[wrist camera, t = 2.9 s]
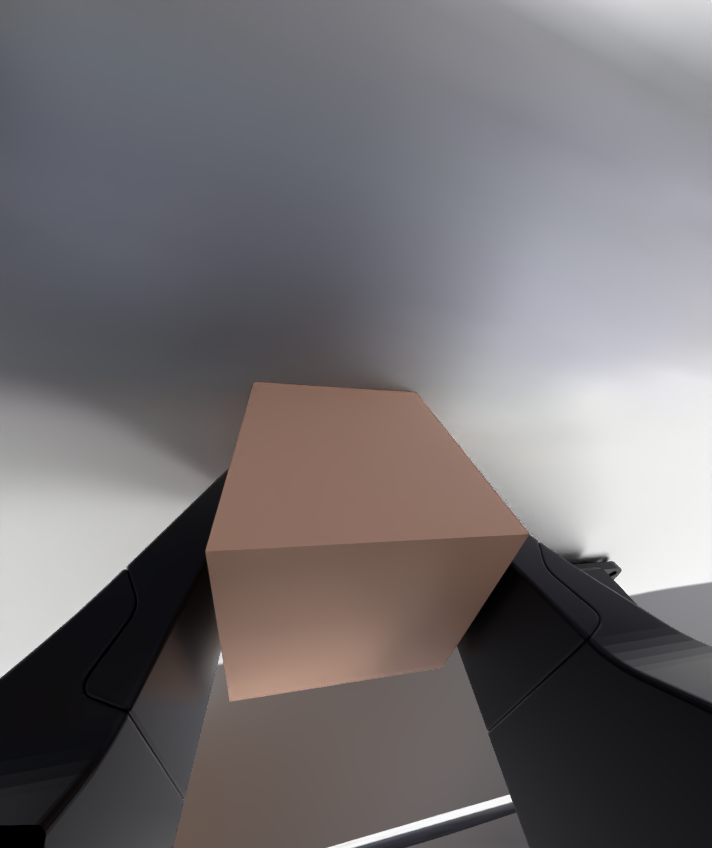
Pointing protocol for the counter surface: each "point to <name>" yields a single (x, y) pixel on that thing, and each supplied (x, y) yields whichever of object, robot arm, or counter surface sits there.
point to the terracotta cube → (349, 540)
